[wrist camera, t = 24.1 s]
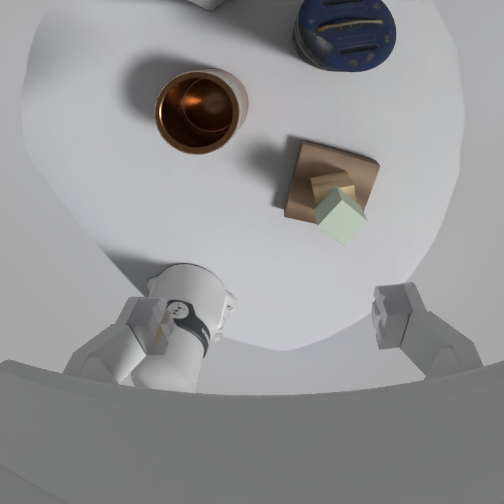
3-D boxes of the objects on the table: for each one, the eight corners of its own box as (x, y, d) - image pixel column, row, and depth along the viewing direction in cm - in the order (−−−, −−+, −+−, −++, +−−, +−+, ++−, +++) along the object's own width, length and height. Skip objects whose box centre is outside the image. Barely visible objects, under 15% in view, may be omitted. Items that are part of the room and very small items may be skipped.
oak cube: (351, 204, 46) (358, 221, 41) (316, 210, 47) (320, 227, 42) (346, 171, 43) (354, 185, 38) (310, 177, 44) (313, 192, 39)
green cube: (338, 227, 42) (343, 245, 38) (314, 209, 41) (317, 225, 37) (359, 205, 40) (367, 221, 36) (336, 185, 39) (341, 199, 35)
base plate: (352, 225, 50) (355, 232, 48) (284, 209, 50) (284, 216, 48) (375, 160, 44) (380, 165, 42) (301, 140, 43) (303, 144, 41)
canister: (359, 73, 36) (405, 80, 22) (293, 70, 37) (301, 71, 23) (357, 13, 31) (401, -14, 16) (289, 9, 32) (295, -26, 17)
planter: (261, 85, 39) (256, 89, 31) (231, 148, 45) (220, 169, 37) (192, 59, 37) (170, 58, 29) (167, 123, 43) (142, 138, 35)
